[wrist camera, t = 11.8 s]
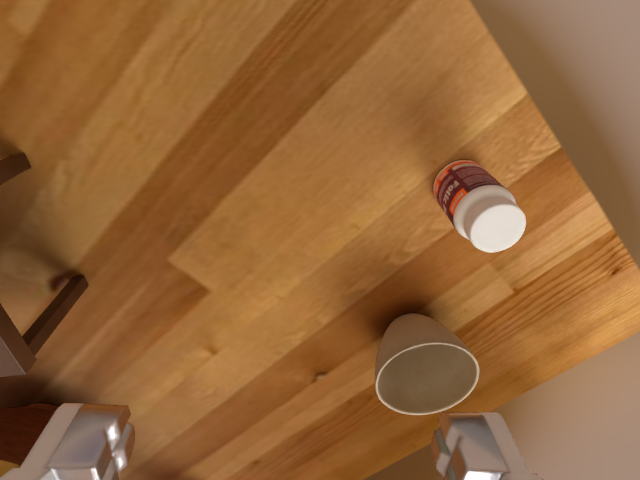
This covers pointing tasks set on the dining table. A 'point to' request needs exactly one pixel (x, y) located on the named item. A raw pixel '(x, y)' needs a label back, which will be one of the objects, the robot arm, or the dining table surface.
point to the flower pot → (423, 366)
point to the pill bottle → (479, 206)
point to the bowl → (21, 432)
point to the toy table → (19, 351)
